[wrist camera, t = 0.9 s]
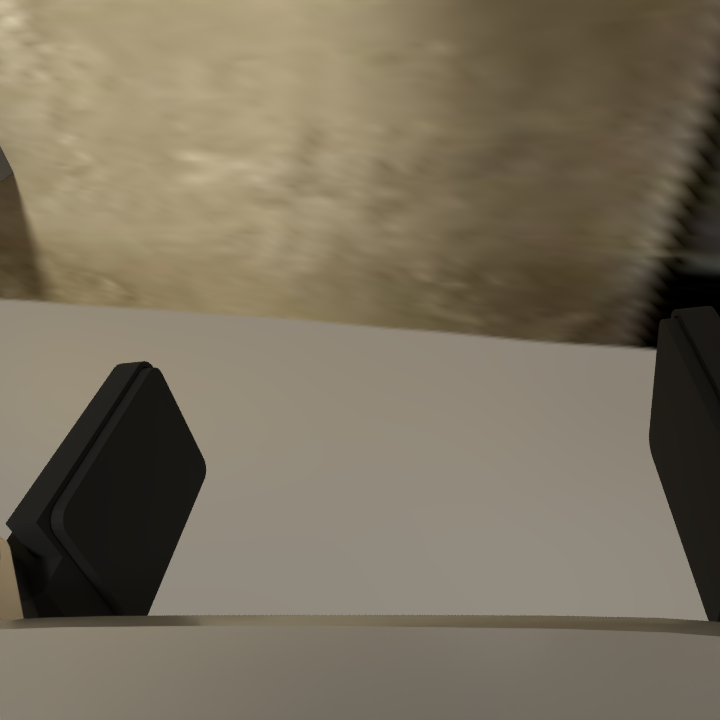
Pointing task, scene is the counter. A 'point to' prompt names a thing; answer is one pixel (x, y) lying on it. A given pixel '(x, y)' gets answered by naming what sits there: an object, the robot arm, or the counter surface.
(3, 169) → the domino
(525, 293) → the counter surface
